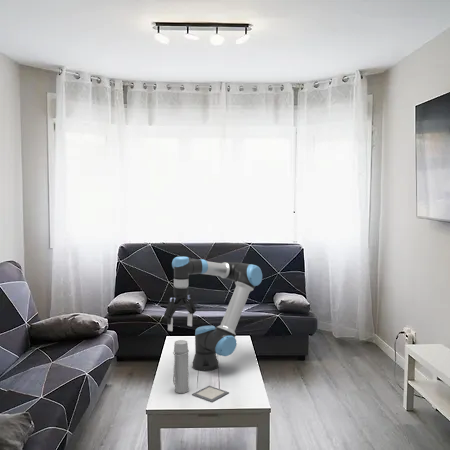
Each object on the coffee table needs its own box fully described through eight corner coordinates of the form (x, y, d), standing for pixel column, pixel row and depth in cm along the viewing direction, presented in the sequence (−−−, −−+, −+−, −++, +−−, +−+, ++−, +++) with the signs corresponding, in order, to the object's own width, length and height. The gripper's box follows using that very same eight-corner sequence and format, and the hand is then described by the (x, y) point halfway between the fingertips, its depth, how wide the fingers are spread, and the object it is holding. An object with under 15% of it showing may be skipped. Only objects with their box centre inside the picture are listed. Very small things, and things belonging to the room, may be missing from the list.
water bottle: (181, 386, 233) (180, 338, 232) (192, 390, 228) (192, 341, 227) (168, 392, 226) (167, 343, 224) (179, 396, 221) (178, 346, 220)
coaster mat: (209, 386, 233) (209, 385, 233) (228, 393, 225) (228, 392, 225) (191, 395, 223) (191, 393, 223) (212, 402, 214) (212, 401, 214)
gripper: (193, 283, 243) (192, 322, 243) (157, 288, 224) (156, 331, 225) (203, 285, 238) (202, 325, 238) (167, 290, 219) (166, 334, 220)
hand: (180, 328), depth 231 cm, fingers open, 13 cm apart
